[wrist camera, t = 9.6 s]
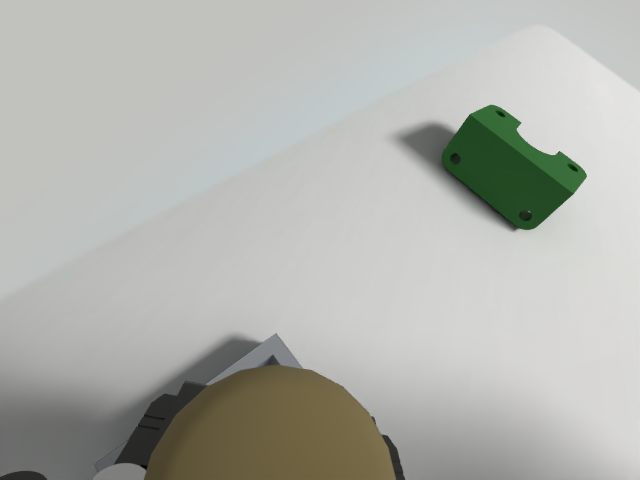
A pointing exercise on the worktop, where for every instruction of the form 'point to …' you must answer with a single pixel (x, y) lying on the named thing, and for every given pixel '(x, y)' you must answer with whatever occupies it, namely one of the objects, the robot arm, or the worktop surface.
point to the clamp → (510, 168)
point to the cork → (272, 432)
